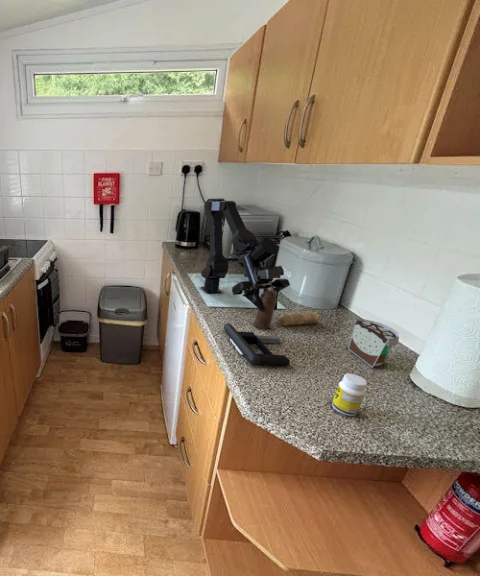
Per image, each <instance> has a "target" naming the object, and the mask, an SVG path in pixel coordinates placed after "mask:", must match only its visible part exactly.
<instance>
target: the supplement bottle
mask: <svg viewBox="0 0 480 576" xmlns="http://www.w3.org/2000/svg"><path fill="white" fill-rule="evenodd" d="M367 385H368V382H367V381H366V379H364V378H363V377H361V376H360V375H357V374H354V373H345V374H344V376H343V377H342V380H341V381H339V383H338V385H337V388H336V391H335V393H334V396H333V399H332V402H331V406H332V408H333V409H334V410H335V411H337V412H338V413H340V414H342V415H345V416H348V417H354V416H356V415H357V414H358V412H359V410H360V408H361V405H362V403H363V400H364V399H365V396H366V388H367Z"/></svg>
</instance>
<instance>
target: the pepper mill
mask: <svg viewBox="0 0 480 576" xmlns="http://www.w3.org/2000/svg"><path fill="white" fill-rule="evenodd" d="M276 294H277V291H276V290H273V288H272V287H269V288H268V289H262V293H261V294H260V295H259V296H260V299H261V302H262V305H263V308H264V311H260V310H259V309H258V308H257V309H256V314H255V318H254V322H253V325H254V326H255V327H257V328H259V329H263V330H267V329H270V326H271V323H272V319H273V314H274V311H275V310H274V308H275V304H276V300H277V301H278V298H277V297H276Z"/></svg>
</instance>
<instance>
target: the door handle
mask: <svg viewBox="0 0 480 576" xmlns="http://www.w3.org/2000/svg"><path fill="white" fill-rule="evenodd" d="M221 329H222V330H224V332H225V333H226V334H227V336H228V337H229V342H231V344H232V345H233V347H235V349H236V351H238V353H239V354H240V356H244V358H245V359H246V361H248V362H249V364H251V365H253V366H258V365H268V366H269V365H270V366H271V365H272V366H289V365H290V363H291V362H290V359H289V357H288V356H286V355H284V354H274V353H273V352H272V351H271V350H270V349H269V348H268V347H267V346H266V345H265V344H277V345H279V343H280V342H281V338H280V337H279V336H276V335H274V336H273V335H262V334H260V335H259V334H255V333H254V331H239V330H237V329H236V328H235V327H234V326H233V325H232V324H231V323H229V322H227V323H225V324H224V325H223V328H221ZM251 345H253V346H254V345H255V346H256V347H257V348H258V349H259V350H258V351H255V350H254V349H253V348H252V347H251Z"/></svg>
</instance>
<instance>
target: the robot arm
mask: <svg viewBox="0 0 480 576" xmlns="http://www.w3.org/2000/svg"><path fill="white" fill-rule="evenodd" d="M203 205H204V206H203V209H204V214H205V216H206V218H207V220H208V222H209V257H208V259H207V260H206V262H205V264H206V265H205V267H204V268H202V270H201V271H200V276H201V277H202V278H203V279H204V284H203V286H200V289H201V290H202V291H204V292H205V293H206V294H217V293H218V294H219V293H222V291H221V290H220V289H219V288H220V281H221V279H225V278H226V276H227V273H228V272H229V268H230V267H229V259H228V257H225V255H224V246H223V244H224V243H223V239H224V238H223V219H224V218H225V221H226V223H227V225H228V227H229V229H230V232H231V234H232V235H231V236H232V237H231V244H232V247H233V250H234V251H235V252H236V253H244V254H240V255H239V258H238V259H237V263H239V264H240V263H242V265H243V268H244V271H245V273H244V274H243V277H244V278H247V280H244V281H242V280H241V281H239V282H237V283H236V284H235V285H233V286H232V288H231V292H232V295H233V296H239V295H242V297H243V298H244V297H245V298H246V299H247V300H248V301H250V302H251V303H252V304H253V305H254V306H255V307H256V308H257V309H259V310H260V311H264V308H263V305H262V302H261V299H260V296H261V295H260V292H261V291H260V290H264V289H268V288H269V287H272V288H273V290H276V291H277V294H276V297H277V300H276V304H275V308H274V311H276V310H278V297H279V292H281V291H282V290H285V289H286V288H288V287H290V286H291V284H290V280H289V279H288V278H281V276H284V275H285V270H284V268H283V266H282V265H276V266H275V265H274V266H273V268H268V267H267V266H264V265H263V263H265V262H266V261H267V260H269V259H271V257H273V256H274V255H276V254H278V252H279V246H278V244H277V243H276V242H275V241H274V240H272V239H270V237H269V236H262V237H261V238H260V239H259V240H258V238H257V237H256V236H255V235H254V233H253V232H252V231H250V230H249V229H248V228H247V227H246V225H245V223H244V221H243V219H242V217H241V214H240V213H239V210H238V208H237V203H236V201H234V200H226V199H225V198H223V197H222V198H219V197H217V198H208V199H207V200H206V201H205V202H204V204H203Z"/></svg>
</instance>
